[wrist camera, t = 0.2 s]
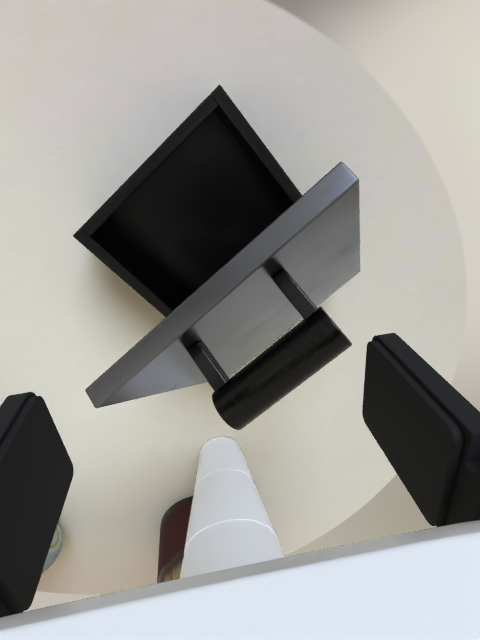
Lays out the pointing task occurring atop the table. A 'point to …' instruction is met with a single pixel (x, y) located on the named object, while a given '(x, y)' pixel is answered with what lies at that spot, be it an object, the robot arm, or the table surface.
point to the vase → (173, 540)
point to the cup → (226, 514)
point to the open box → (190, 205)
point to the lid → (254, 313)
